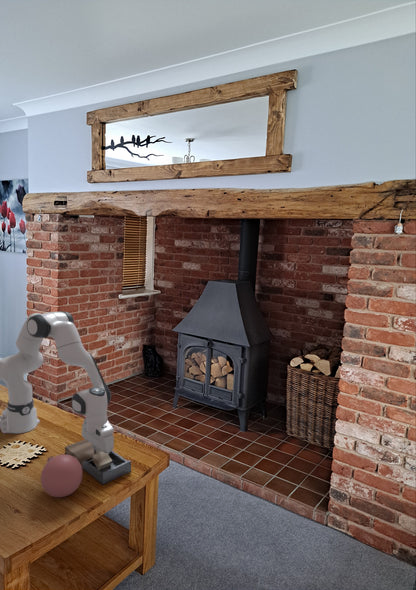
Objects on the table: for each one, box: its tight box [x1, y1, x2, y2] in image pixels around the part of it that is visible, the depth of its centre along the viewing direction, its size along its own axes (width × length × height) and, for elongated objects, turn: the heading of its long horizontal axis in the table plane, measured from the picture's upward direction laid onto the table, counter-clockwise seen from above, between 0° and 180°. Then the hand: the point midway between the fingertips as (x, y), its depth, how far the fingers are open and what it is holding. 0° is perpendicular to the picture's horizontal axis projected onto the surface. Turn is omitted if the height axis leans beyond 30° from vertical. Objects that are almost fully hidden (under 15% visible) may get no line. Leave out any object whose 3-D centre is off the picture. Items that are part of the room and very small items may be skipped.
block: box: [92, 452, 112, 470], centre depth 186 cm, size 6×6×3 cm
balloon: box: [40, 453, 84, 498], centre depth 169 cm, size 15×20×15 cm
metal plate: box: [64, 439, 103, 466], centre depth 196 cm, size 16×12×3 cm
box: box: [82, 450, 132, 486], centre depth 184 cm, size 16×14×5 cm
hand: (96, 453), depth 189 cm, fingers closed
